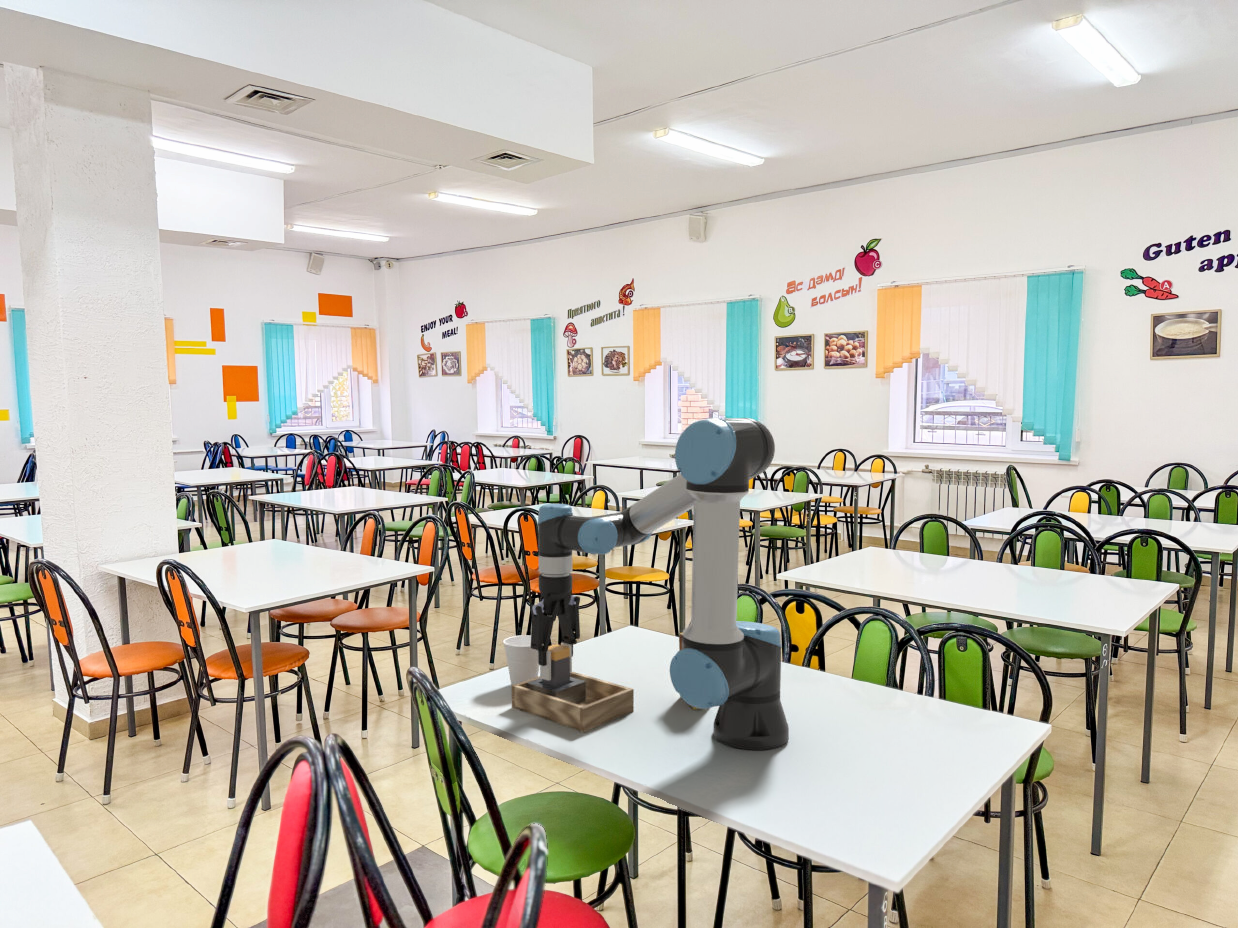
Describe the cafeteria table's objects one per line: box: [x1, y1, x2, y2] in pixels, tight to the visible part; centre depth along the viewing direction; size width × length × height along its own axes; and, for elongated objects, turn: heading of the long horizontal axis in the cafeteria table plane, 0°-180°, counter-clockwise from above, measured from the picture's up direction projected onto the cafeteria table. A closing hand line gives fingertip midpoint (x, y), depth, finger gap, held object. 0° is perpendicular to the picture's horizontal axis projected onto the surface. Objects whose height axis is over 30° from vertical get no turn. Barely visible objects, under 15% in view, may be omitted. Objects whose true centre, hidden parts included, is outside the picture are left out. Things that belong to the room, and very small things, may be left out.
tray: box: [511, 671, 635, 733], centre depth 188 cm, size 22×16×5 cm
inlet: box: [527, 677, 586, 704], centre depth 191 cm, size 9×9×4 cm
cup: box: [502, 634, 540, 686], centre depth 204 cm, size 10×10×11 cm
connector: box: [542, 643, 570, 688], centre depth 191 cm, size 4×4×12 cm
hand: (556, 675), depth 191 cm, fingers open, 6 cm apart
